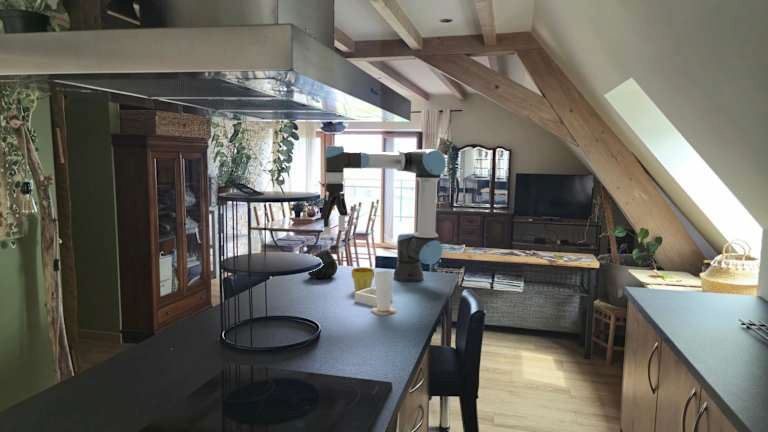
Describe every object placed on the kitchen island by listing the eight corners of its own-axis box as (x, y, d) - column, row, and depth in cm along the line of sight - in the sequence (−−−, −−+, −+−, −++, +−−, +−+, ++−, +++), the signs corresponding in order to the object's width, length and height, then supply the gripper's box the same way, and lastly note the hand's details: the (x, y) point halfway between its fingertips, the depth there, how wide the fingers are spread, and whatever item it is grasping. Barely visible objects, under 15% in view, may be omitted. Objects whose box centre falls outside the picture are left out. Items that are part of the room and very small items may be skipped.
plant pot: (373, 294, 226) (373, 272, 225) (350, 293, 226) (350, 272, 225) (374, 288, 236) (374, 267, 235) (352, 287, 237) (352, 267, 235)
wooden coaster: (381, 306, 208) (381, 304, 208) (401, 310, 202) (401, 309, 202) (366, 311, 200) (366, 310, 200) (386, 316, 194) (386, 315, 194)
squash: (299, 265, 258) (310, 246, 250) (325, 263, 268) (335, 244, 259) (309, 287, 251) (320, 269, 242) (335, 284, 260) (346, 266, 251)
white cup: (378, 313, 197) (378, 275, 195) (373, 308, 203) (373, 271, 201) (394, 311, 199) (394, 274, 197) (388, 306, 205) (389, 270, 203)
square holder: (371, 295, 223) (371, 286, 222) (392, 300, 216) (392, 291, 216) (354, 301, 214) (354, 292, 213) (376, 306, 207) (376, 296, 207)
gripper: (339, 181, 226) (339, 228, 228) (312, 183, 203) (312, 235, 205) (355, 181, 223) (354, 229, 226) (328, 184, 200) (328, 237, 203)
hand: (334, 232), depth 216 cm, fingers open, 13 cm apart
